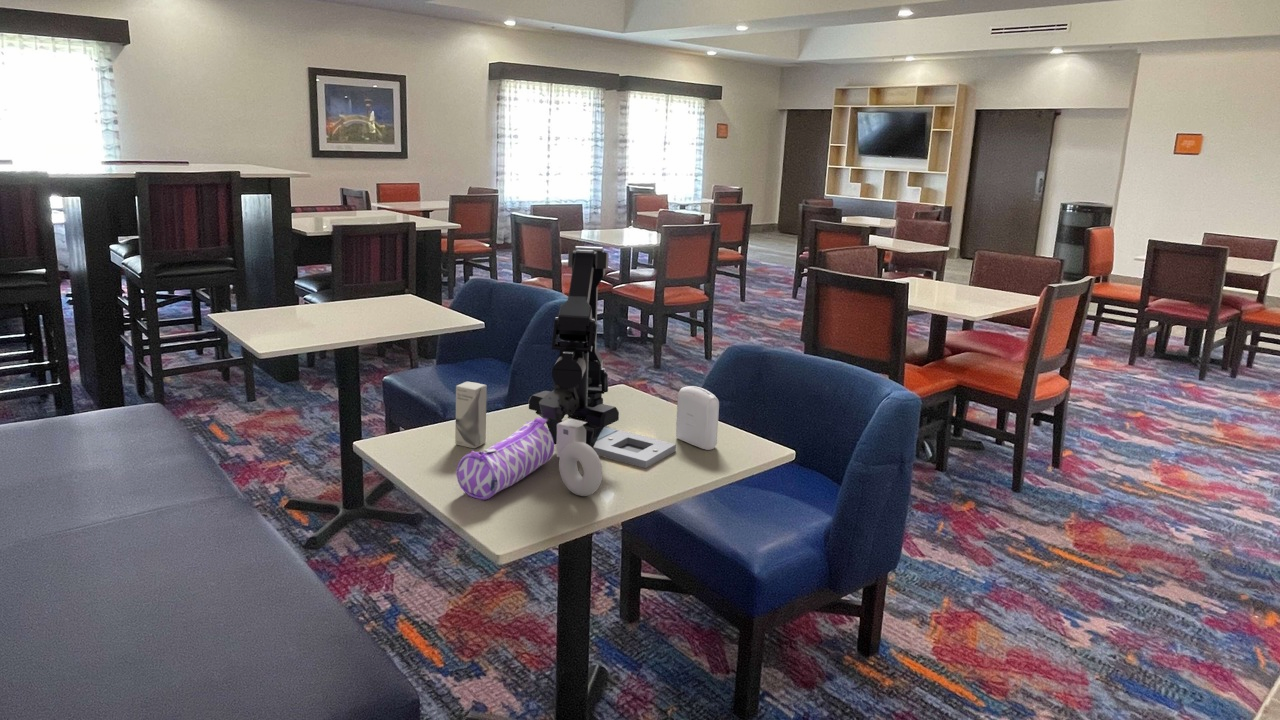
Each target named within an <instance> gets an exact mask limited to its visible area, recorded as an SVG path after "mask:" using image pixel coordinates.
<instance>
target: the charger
mask: <svg viewBox="0 0 1280 720" xmlns="http://www.w3.org/2000/svg"><path fill="white" fill-rule="evenodd" d="M585 423H587V421H584V420H580V419H576V418H572V417H570V418H568V419H565V420H562V422H560V423H558V424H557V444H556V450H555V451H556V454H555V455H556V458H559V459H560V455H561V452H562V450H563V449H564V448H565V447H566V446H567V445H568V444H569V443H572V442H575V441H579V442H584V443H586V429H585V427H584V426H583V424H585Z"/></svg>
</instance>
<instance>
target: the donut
mask: <svg viewBox="0 0 1280 720" xmlns="http://www.w3.org/2000/svg"><path fill="white" fill-rule="evenodd" d="M558 461H559V462H558V470H559V475H560V477H561V480H562V482H563V484H564V485H565V487H566V488H567V489H568V490H569V491H570V493H573V494H575V495H576V496H581V497H586V496H591V495H592V494H594V493H595V492H596V491H597V490H598V489H599V487H600V485H601V483H602V479H603V466H602V462H601V459H600V456H599V455H597V453H596V452H595V451H594V449H593V448H592V447H591V446H589V445H588V444H586V443H584V442H579V441H575V442H572V443H569V444H568V445H567V446H566V447H565V448H564V449H563V450H562V452H561V455H560V458H559V459H558ZM578 462H579V463H580V465H581V466H582V469H583V476H582V475H581V474H580V472H579V469H578Z"/></svg>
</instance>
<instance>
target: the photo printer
mask: <svg viewBox="0 0 1280 720" xmlns="http://www.w3.org/2000/svg"><path fill="white" fill-rule="evenodd" d="M676 405H677V406H676V422H675V423H676V424H675V425H676V427H675V437H676V438H677V439H678V440H680V441H682V442H685V443H688V444H690V445H692V446H695V447H698V448H700V449H703V450H706V451H707V450H708V451H709V450H714V449H716V446H717V444H718V432H719V431H718V430H719V427H718V426H719V410H720V401H719V399H718V398H717V397H716V395H715V394H713V393H712V392H711V391H709V390H707V389H705V388H702V387H699V386H696V385H688V386H685V387H684V386H683V387H682V388H680V390H679V391H678V393H677V401H676Z"/></svg>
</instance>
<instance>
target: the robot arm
mask: <svg viewBox="0 0 1280 720" xmlns="http://www.w3.org/2000/svg"><path fill="white" fill-rule="evenodd" d="M567 254H568V256H567V257H568V259H567V268H571V278H570V283H569V291H568V296H567V299H566V301H565V302H564V303H562V304H561V305H560V307H559V312H558V316H556V317H555V319H554V323H553V325H554V326H553V332H552V341H551V342H552V343H551V350H552V351H559V353H558V358H557V360H556V362H555V364H554V365H553V367H552V370H551V377H552V380H553V382H554V384H553V385H554V387H553V390H552V391H550V390H543V391H539V392H536V393H534V394H531V396H530V397H529V399H528V409H529V410H530V411H534V412H535V414H536V415H538V416H539V417H540V418H543V419H547V420H548V421H547V422H546V423H545V425H546V427H547V429H548V430H549V431H550V433H551V435H552V437H553V441H554V446H555V445H556V446H557V424H558V423H560V422H563V419H564V418H565V416H566V415H567V416H568V417H570V418H573V419H577V420H581V421H585V422H587V423H585V424H583V426H584V427H585V429H586V444H588V445H589V446H591V447H592V448H593V447H594V445H595V443H596V441H597V439H598V436H599V435H600V433H601V431H602V429H603V428H604V427H607V426H610V425H611V424H613V423H615V422H618V421H619V418H620V417H619V415H620V413H619V409H618V408H617V406H612V405H610V404H609V405H608V404H606V403H604V398H603V397H602V395H604V394H605V393H609V392H608V391H609V375H608V372H607V371H606V368H605V367H603V366H604V364H603V363H604V360H603V359H604V358H603V357H602V355H601V353H600V352H599V350H598V349H597V336H598V335H597V334H598V302H599V301H598V300H599V299H598V297H599V296H598V295H599V293H598V292H599V284H600V283H601V282H602V280H603V278H604V276H605V275H606V269H608V268H609V257H610V256H609V255H610V254H609V252H608V251H604V247H603V246H583V245H581V246H580V245H575V248H574V250H568V253H567ZM558 339H559V340H558Z"/></svg>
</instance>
